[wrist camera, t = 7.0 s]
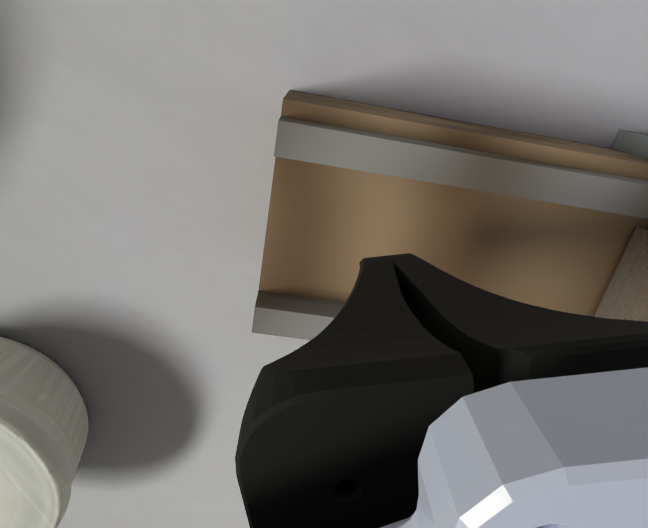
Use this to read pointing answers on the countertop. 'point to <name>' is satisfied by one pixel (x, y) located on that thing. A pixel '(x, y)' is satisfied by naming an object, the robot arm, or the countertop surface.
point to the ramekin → (37, 437)
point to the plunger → (629, 283)
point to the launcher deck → (438, 210)
